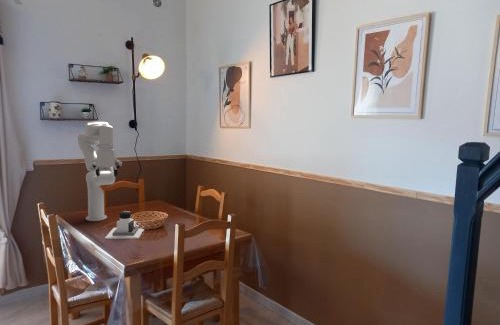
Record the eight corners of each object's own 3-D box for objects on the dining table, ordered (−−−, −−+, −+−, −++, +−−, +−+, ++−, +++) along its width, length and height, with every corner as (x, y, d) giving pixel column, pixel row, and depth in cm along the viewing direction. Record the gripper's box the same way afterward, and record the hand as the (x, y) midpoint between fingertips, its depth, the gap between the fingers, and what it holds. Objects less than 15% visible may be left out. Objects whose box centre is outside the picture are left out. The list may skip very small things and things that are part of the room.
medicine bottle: (128, 234, 194) (128, 213, 192) (116, 233, 194) (116, 213, 193) (134, 230, 201) (133, 210, 199) (122, 229, 201) (122, 210, 200)
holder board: (114, 228, 205) (113, 225, 205) (144, 228, 207) (144, 224, 207) (104, 238, 187) (104, 234, 187) (138, 238, 190) (138, 234, 189)
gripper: (88, 147, 192) (89, 177, 194) (120, 147, 194) (120, 177, 196) (92, 146, 200) (93, 175, 202) (123, 146, 202) (123, 175, 204)
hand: (106, 176), depth 199 cm, fingers open, 9 cm apart
